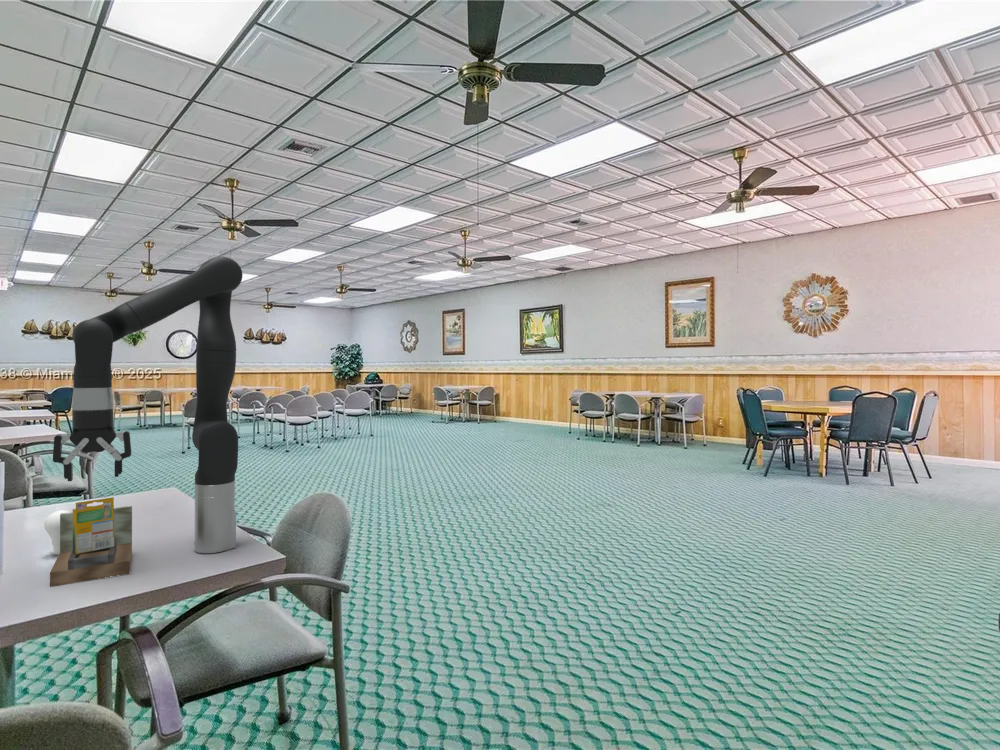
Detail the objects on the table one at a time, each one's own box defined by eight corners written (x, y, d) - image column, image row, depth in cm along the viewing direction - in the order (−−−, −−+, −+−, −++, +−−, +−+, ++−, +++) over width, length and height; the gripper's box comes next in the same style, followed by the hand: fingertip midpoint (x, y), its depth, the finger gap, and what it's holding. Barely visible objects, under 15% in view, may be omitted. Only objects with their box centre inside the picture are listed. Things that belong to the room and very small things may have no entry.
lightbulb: (65, 549, 139) (66, 506, 139) (81, 552, 137) (81, 509, 137) (38, 557, 133) (38, 512, 133) (54, 560, 131) (54, 515, 131)
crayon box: (110, 544, 128) (110, 495, 128) (114, 547, 126) (114, 497, 126) (72, 552, 123) (72, 500, 122) (75, 555, 121) (75, 502, 120)
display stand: (131, 553, 136) (132, 505, 136) (129, 573, 123) (129, 521, 123) (60, 563, 129) (60, 513, 129) (49, 586, 115) (50, 530, 115)
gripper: (131, 405, 131) (131, 472, 131) (55, 407, 123) (56, 479, 123) (130, 407, 125) (130, 478, 125) (50, 410, 117) (51, 485, 117)
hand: (93, 478), depth 124 cm, fingers open, 8 cm apart
